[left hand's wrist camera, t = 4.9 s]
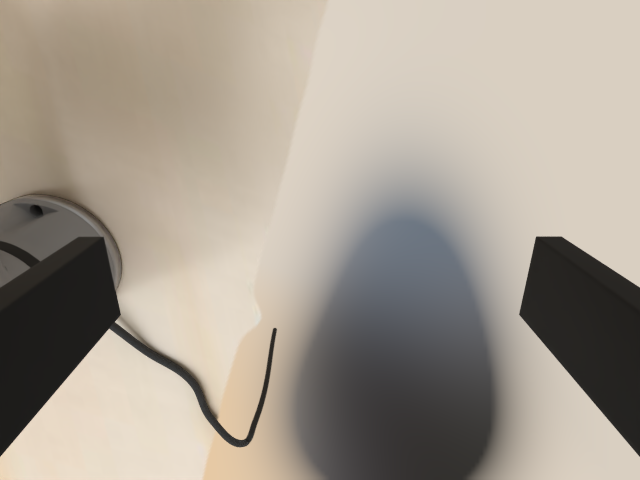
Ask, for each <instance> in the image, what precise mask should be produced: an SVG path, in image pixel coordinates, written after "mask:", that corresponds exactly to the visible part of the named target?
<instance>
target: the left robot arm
mask: <svg viewBox="0 0 640 480" xmlns="http://www.w3.org/2000/svg"><path fill="white" fill-rule="evenodd" d="M121 269H122V268H121V259H120V254H119V251H118V248H117V246H116V244H115V242H114V240H113V238H112V236H111V235H110V233H109V232H108V230H107V229H106V228H105V227H104V225H103V224H102V223H101V222H100V221H99V220H98V219H97V218H96V217H94V216H93V215H92V214H91V213H89V212H88V211H87V210H85V209H84V208H82V207H80V206H78V205H77V204H74V203H72V202H70V201H68V200H65V199H62V198H59V197H54V196H49V195H27V196H22V197H18V198H15V199H13V200H10V201H8V202H5V203H3V204H0V456H1V455H2V454H3V453H4V452H5V450H6V449H7V448H8V447H9V446H10V445H11V443H12V442H13V441H14V440H15V439H16V437H17V436H18V435H19V434H20V433H21V432H22V430H23V429H24V428H25V427H26V426H27V425H28V423H29V422H30V421H31V420H32V419H33V417H34V416H35V415H36V414H37V413H38V412H39V410H40V409H41V408H42V407H43V406H44V404H45V403H46V402H47V401H48V400H49V399H50V397H51V396H52V395H53V394H54V393H55V391H56V390H57V389H58V388H59V387H60V386H61V384H62V383H63V382H64V381H65V380H66V379H67V377H68V376H69V375H70V374H71V373H72V371H73V370H74V369H75V368H76V367H77V366H78V364H79V363H80V362H81V361H82V360H83V358H84V357H85V356H86V355H87V354H88V353H89V351H90V350H91V349H92V348H93V347H94V346H95V344H96V343H97V342H98V341H99V340H100V338H101V337H102V336H103V335H104V334H105V333H106V331H107V330H108V329H111V330H112V331H113V332H115V333H116V334H117V335H119V336H120V337H121V338H123V339H124V340H125V341H127V342H128V343H129V344H131V345H132V346H133V347H135V348H136V349H137V350H139V351H140V352H142V353H143V354H144V355H146V356H147V357H149V358H151V359H152V360H154V361H156V362H158V363H160V364H161V365H163V366H165V367H167V368H169V369H170V370H172V371H174V372H175V373H177V374H178V375H180V376H181V377H182V378H183V379H184V380H186V381H187V382H188V384H189V385H190V386H191V387H192V389H193V390H194V392H195V394H196V397H197V399H198V402H199V405H200V408H201V410H202V412H203V414H204V415H205V417H206V419H207V420H208V421H209V422H210V424H211V425H212V426H213V427H214V429H215V430H216V431H217V432H218V433H219V434H220V435H221V437H222V438H223V439H224V440H226V441H227V442H228V443H229V444H231V445H233V446H236V447H245V446H247V445H248V444H249V443H250V442H251V441H252V439H253V436H254V433H255V430H256V427H257V424H258V421H259V418H260V415H261V412H262V409H263V406H264V402H265V398H266V394H267V390H268V385H269V379H270V373H271V366H272V359H273V351H274V344H275V338H276V333H277V329H276V328H273V331H272V336H271V341H270V348H269V354H268V361H267V367H266V374H265V379H264V384H263V389H262V393H261V397H260V400H259V403H258V407H257V410H256V412H255V415H254V418H253V420H252V423H251V426H250V429H249V432H248V435H247V437H246V439H244V440H238V439H235V438H234V437H232V436H231V435H230V434H228V433H227V431H226V430H225V429H224V428H223V427H222V426H221V425H220V423H219V422H218V421H217V420H216V418H215V417H214V416H213V415H212V413H211V412H210V410H209V408H208V406H207V403H206V401H205V398H204V395H203V392H202V390H201V388H200V386H199V385H198V383H197V382H196V380H195V379H194V378H193V377H192V376H191V375H190V374H189V373H188V372H187V371H186V370H184V369H183V368H182V367H180V366H179V365H177V364H175V363H174V362H172V361H170V360H168V359H166V358H164V357H163V356H161V355H159V354H157V353H156V352H154V351H152V350H151V349H149V348H148V347H147V346H145V345H144V344H142V343H141V342H140V341H138V340H137V339H136V338H134V337H133V336H132V335H131V334H129V333H128V332H127V331H125V330H124V329H123V328H122V327H120V326H119V325H118V324H116V323H115V321H116V320H117V318H118V317H119V316H120V315H121V314H120V309H119V304H118V300H117V295H116V289H117V287H118V285H119V282H120V278H121ZM519 315H520V316H521V317H522V318H523V320H524V321H525V322H526V323H527V324H528V325H529V327H530V328H531V329H532V330H533V331H534V333H535V334H536V335H537V336H538V337H539V338H540V340H541V341H542V342H543V343H544V344H545V346H546V347H547V348H548V349H549V350H550V351H551V353H552V354H553V355H554V356H555V357H556V358H557V360H558V361H559V362H560V363H561V364H562V366H563V367H564V368H565V369H566V370H567V371H568V373H569V374H570V375H571V376H572V377H573V379H574V380H575V381H576V382H577V383H578V384H579V386H580V387H581V388H582V389H583V390H584V391H585V393H586V394H587V395H588V396H589V397H590V399H591V400H592V401H593V402H594V403H595V404H596V406H597V407H598V408H599V409H600V410H601V412H602V413H603V414H604V415H605V416H606V417H607V419H608V420H609V421H610V422H611V423H612V424H613V426H614V427H615V428H616V429H617V430H618V431H619V433H620V434H621V435H622V436H623V437H624V439H625V440H626V441H627V442H628V443H629V445H630V446H631V447H632V448H633V449H634V450H635V452H636V453H637V454H638V455H639V456H640V287H638V286H636V285H635V284H633V283H632V282H630V281H629V280H627V279H626V278H624V277H623V276H621V275H620V274H618V273H617V272H615V271H613V270H612V269H610V268H609V267H607V266H606V265H604V264H603V263H601V262H600V261H598V260H596V259H595V258H593V257H592V256H590V255H589V254H587V253H586V252H584V251H583V250H581V249H580V248H578V247H576V246H575V245H573V244H572V243H570V242H569V241H567V240H566V239H564V238H563V237H536V240H535V244H534V249H533V254H532V258H531V263H530V267H529V272H528V277H527V281H526V286H525V291H524V295H523V300H522V305H521V309H520V314H519Z"/></svg>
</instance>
